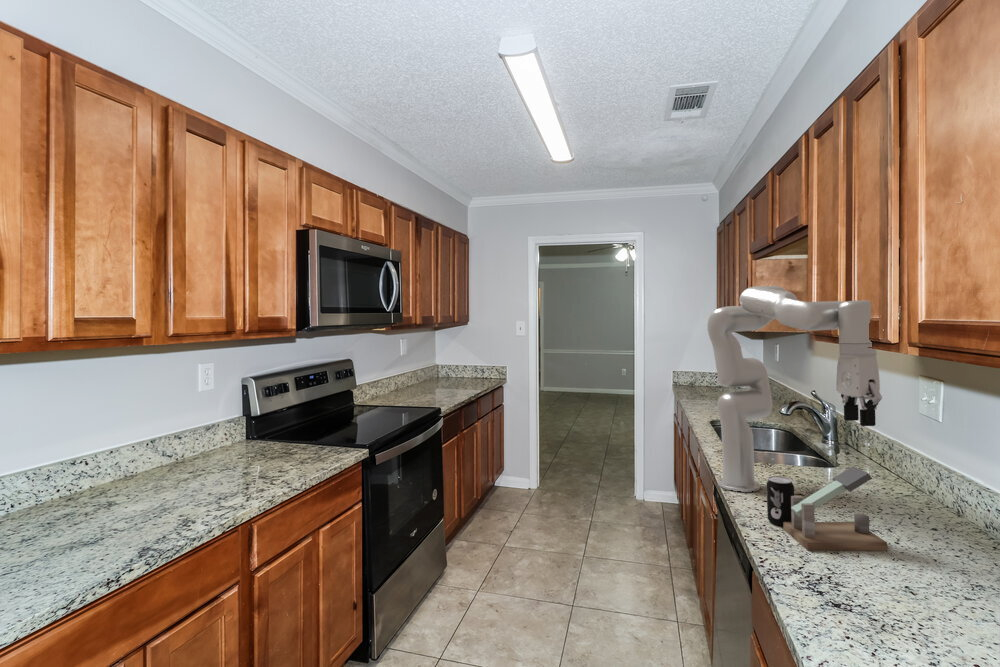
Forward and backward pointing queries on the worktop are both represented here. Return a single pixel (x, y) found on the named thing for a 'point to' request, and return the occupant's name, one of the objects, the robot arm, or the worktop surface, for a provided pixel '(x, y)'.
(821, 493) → the press lever
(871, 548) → the press base
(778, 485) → the beverage can
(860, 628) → the worktop surface
